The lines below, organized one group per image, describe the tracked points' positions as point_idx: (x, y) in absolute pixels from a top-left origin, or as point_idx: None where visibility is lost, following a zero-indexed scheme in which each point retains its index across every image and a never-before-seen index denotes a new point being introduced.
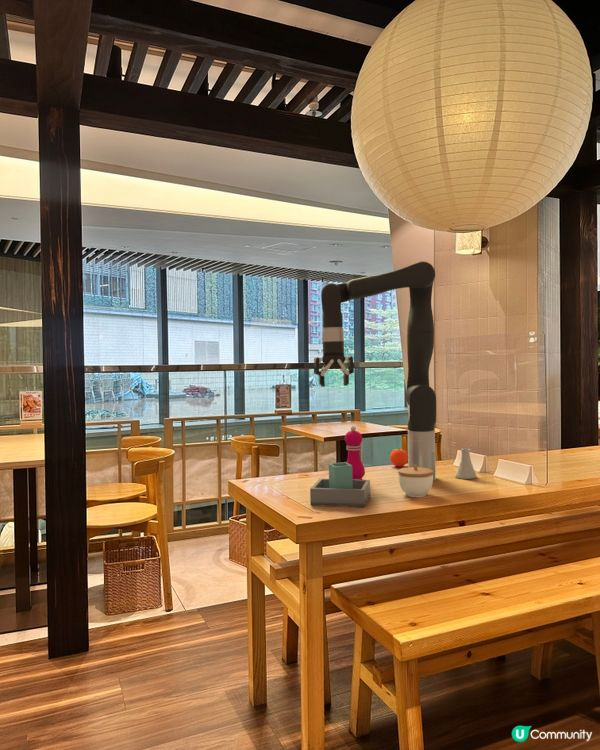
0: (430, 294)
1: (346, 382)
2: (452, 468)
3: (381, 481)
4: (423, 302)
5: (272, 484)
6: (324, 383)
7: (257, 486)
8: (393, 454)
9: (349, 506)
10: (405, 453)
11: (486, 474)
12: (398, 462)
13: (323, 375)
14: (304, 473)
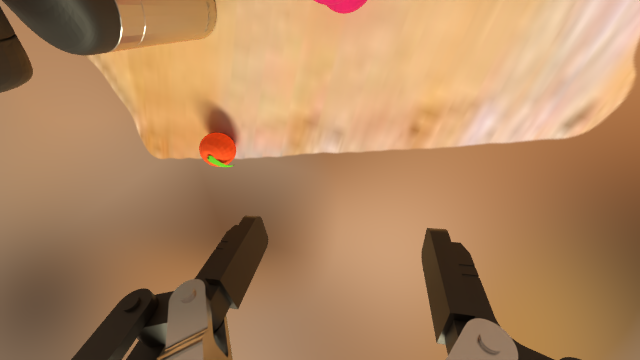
0: None
1: (243, 228)
2: (137, 95)
3: (277, 8)
4: None
5: (540, 57)
6: (434, 244)
7: (594, 44)
8: (224, 148)
9: None
10: (201, 143)
11: None
12: (223, 134)
13: (457, 327)
14: (410, 147)
